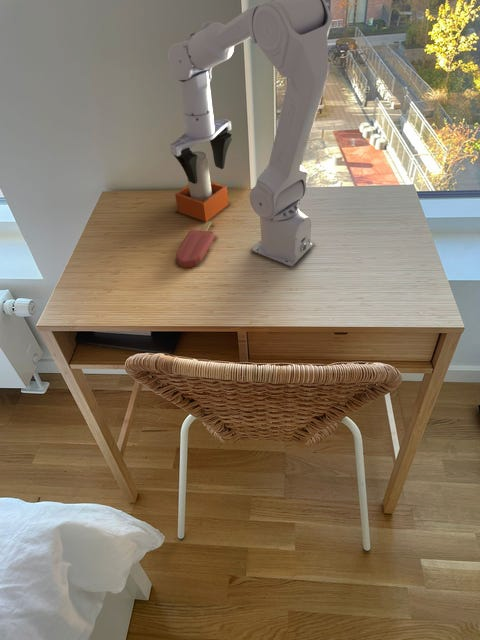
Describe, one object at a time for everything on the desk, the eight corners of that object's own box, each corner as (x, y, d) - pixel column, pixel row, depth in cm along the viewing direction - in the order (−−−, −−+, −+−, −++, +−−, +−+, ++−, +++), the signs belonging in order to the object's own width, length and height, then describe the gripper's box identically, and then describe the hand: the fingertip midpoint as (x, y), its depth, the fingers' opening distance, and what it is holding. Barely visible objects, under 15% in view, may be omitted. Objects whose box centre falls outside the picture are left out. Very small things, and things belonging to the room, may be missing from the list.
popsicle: (220, 219, 104) (196, 263, 95) (221, 226, 106) (197, 269, 96) (197, 217, 106) (171, 260, 96) (198, 223, 107) (172, 266, 97)
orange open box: (228, 204, 111) (226, 186, 108) (206, 222, 107) (203, 204, 104) (201, 194, 115) (198, 177, 112) (178, 211, 111) (174, 193, 108)
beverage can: (216, 208, 110) (210, 158, 101) (196, 213, 109) (188, 164, 100) (209, 197, 113) (202, 148, 104) (189, 203, 112) (181, 154, 103)
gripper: (211, 92, 99) (219, 155, 108) (155, 117, 92) (168, 182, 102) (235, 100, 95) (241, 165, 105) (178, 127, 88) (189, 193, 98)
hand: (206, 174), depth 103 cm, fingers open, 7 cm apart
